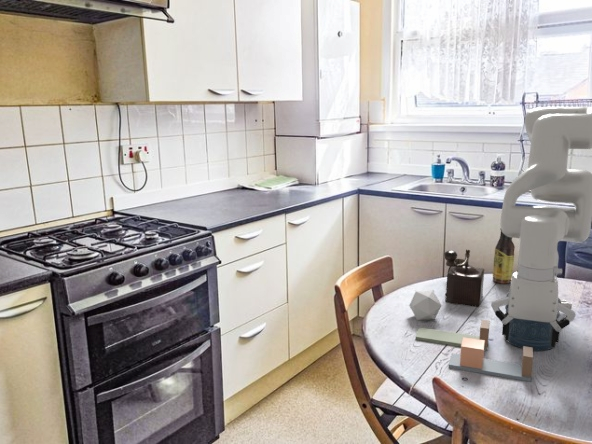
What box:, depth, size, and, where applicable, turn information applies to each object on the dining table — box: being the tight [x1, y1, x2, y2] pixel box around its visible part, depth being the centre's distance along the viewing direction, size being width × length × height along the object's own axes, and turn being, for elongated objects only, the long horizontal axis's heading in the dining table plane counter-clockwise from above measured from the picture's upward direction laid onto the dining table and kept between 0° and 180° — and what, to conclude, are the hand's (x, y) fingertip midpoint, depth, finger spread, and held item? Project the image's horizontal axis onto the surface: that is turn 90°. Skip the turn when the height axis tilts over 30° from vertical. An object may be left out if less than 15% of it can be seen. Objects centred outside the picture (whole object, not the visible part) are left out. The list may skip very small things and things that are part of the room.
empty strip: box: [415, 319, 491, 351], centre depth 137 cm, size 18×6×6 cm, turn 67°
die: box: [408, 290, 442, 321], centre depth 151 cm, size 8×9×10 cm
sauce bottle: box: [492, 227, 516, 285], centre depth 177 cm, size 7×6×20 cm
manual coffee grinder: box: [443, 249, 485, 308], centre depth 161 cm, size 16×11×18 cm
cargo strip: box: [448, 346, 534, 382], centre depth 123 cm, size 18×6×6 cm, turn 67°
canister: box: [503, 291, 562, 351], centre depth 135 cm, size 13×13×18 cm
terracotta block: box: [460, 337, 485, 369], centre depth 124 cm, size 5×5×5 cm
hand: (529, 341), depth 119 cm, fingers open, 9 cm apart
